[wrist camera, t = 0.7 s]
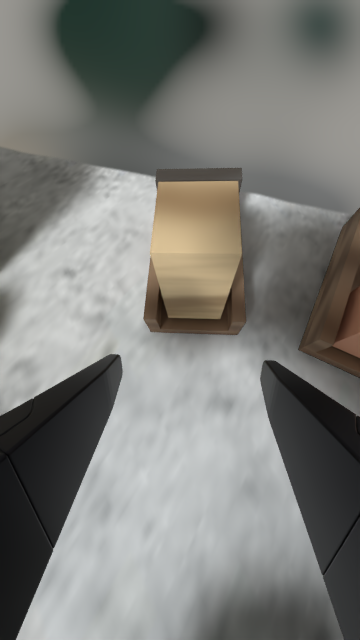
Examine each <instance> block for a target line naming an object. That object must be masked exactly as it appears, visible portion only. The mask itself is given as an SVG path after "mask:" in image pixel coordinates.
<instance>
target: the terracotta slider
mask: <svg viewBox="0 0 360 640" xmlns="http://www.w3.org/2000/svg"><path fill="white" fill-rule="evenodd" d="M333 347H335V348H338V349H340V350H342V351H345V352H347V353H349V354H351V355H354V356H356V357H358V358H360V286H359V287H358V288H356V289H355V290H353V291H352V292H350V294H349V297H348V301H347V304H346V307H345V310H344V314H343V317H342V320H341V323H340V326H339V330H338V333H337V336H336V339H335V342H334V345H333Z"/></svg>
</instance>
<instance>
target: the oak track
mask: <svg viewBox="0 0 360 640" xmlns="http://www.w3.org/2000/svg"><path fill="white" fill-rule="evenodd" d="M155 181H156V187H157V189H158V182H194V181H238V188H239V192H240V187H241V182H242V168H214V169H213V168H208V169H157V172H156V180H155ZM239 206H240V203H239ZM240 225H241V221H240ZM241 243H242V240H241ZM143 319H144V321H145V323H146V324H147V326H148V328H149V329H150V331H151V332H164V333H194V334H223V335H238V333H239V332H240V330H241V329H242V327H243V326H244V324H245V323H246V313H245V295H244V276H243V258H242V256H241V259H240V262H239V265H238V268H237V271H236V274H235V277H234V280H233V283H232V286H231V288H230V291H229V294H228V297H227V300H226V303H225V306H224V309H223V312H222V315H221V318H220V319H194V318H168V315H167V311H166V308H165V304H164V300H163V297H162V293H161V290H160V286H159V283H158V279H157V276H156V272H155V269H154V265H153V262H152V258H150V266H149V275H148V284H147V292H146V301H145V310H144V318H143Z"/></svg>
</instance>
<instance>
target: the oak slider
mask: <svg viewBox="0 0 360 640" xmlns="http://www.w3.org/2000/svg"><path fill="white" fill-rule="evenodd" d="M150 255H151V258H152V262H153V265H154V269H155V272H156V276H157V279H158V283H159V286H160V290H161V293H162V297H163V300H164V304H165V308H166V311H167V315H168V318H194V319H220V318H221V315H222V312H223V309H224V306H225V303H226V300H227V297H228V294H229V291H230V288H231V286H232V283H233V280H234V277H235V274H236V271H237V268H238V265H239V262H240V259H241V256H242V243H241V225H240V206H239V188H238V181H194V182H158V189H157V198H156V206H155V215H154V223H153V232H152V240H151V249H150Z"/></svg>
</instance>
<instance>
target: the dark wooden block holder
mask: <svg viewBox="0 0 360 640" xmlns="http://www.w3.org/2000/svg"><path fill="white" fill-rule="evenodd" d="M359 286H360V208H359V209H358V210H357V211H356V213H355V214H354V215H353V216H352V217H351V218H350V219H349V221H348V222H347V223H346V224H345V225H344V226H343V228H342V230H341V233H340V236H339V239H338V241H337V244H336V247H335V250H334V252H333V255H332V258H331V261H330V263H329V266H328V269H327V272H326V275H325V277H324V280H323V283H322V286H321V288H320V291H319V294H318V297H317V299H316V302H315V305H314V308H313V310H312V313H311V316H310V319H309V322H308V324H307V327H306V330H305V333H304V335H303V338H302V341H301V344H300V346H299V349H298V350H300V351H302V352H304V353H307V354H309V355H311V356H313V357H315V358H318V359H320V360H322V361H324V362H326V363H329V364H331V365H333V366H335V367H337V368H340V369H342V370H344V371H346V372H348V373H351V374H353V375H355V376H357V377H359V378H360V358H358V357H356V356H354V355H351V354H349V353H347V352H345V351H342V350H340V349H338V348H335V347H333V345H334V342H335V339H336V336H337V333H338V330H339V326H340V323H341V320H342V317H343V314H344V310H345V307H346V304H347V301H348V297H349V294H350V292H352V291H353V290H355V289H356V288H358V287H359Z"/></svg>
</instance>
